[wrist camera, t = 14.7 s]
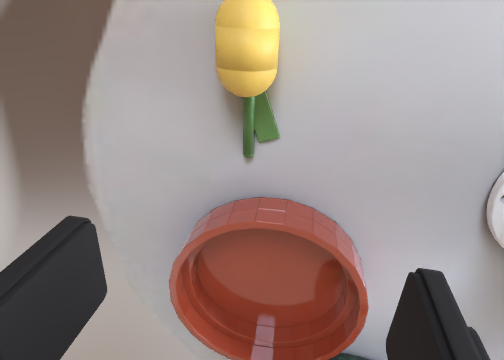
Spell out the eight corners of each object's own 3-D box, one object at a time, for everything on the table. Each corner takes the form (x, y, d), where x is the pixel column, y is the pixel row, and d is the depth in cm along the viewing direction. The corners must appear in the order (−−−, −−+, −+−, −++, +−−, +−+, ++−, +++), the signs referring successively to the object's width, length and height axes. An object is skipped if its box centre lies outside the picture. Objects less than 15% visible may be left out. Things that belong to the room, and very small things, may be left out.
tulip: (222, -11, 25) (206, -13, 21) (289, -9, 24) (285, -11, 20) (224, 153, 31) (212, 175, 27) (278, 158, 30) (273, 181, 26)
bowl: (238, 158, 31) (228, 182, 27) (402, 260, 33) (414, 295, 29) (157, 280, 39) (140, 311, 35) (292, 354, 42) (290, 391, 38)
